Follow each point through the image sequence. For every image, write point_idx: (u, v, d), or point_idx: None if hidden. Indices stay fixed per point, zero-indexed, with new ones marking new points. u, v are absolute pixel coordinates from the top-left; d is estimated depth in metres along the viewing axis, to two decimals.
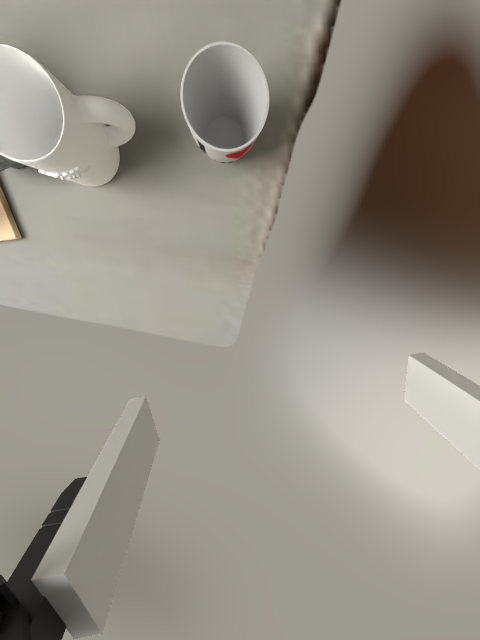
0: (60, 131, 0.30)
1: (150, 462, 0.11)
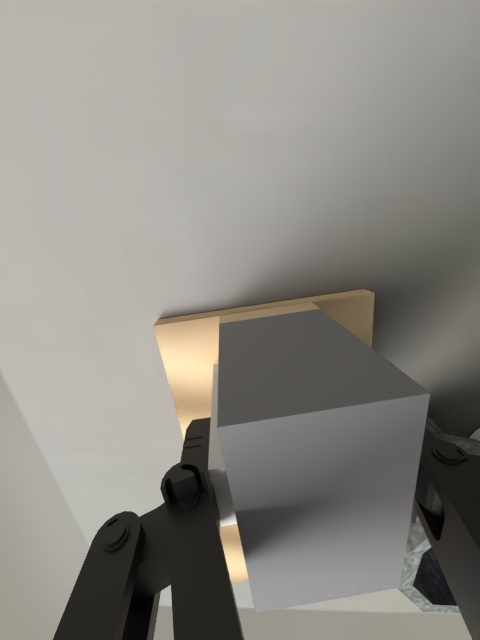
0: None
1: None
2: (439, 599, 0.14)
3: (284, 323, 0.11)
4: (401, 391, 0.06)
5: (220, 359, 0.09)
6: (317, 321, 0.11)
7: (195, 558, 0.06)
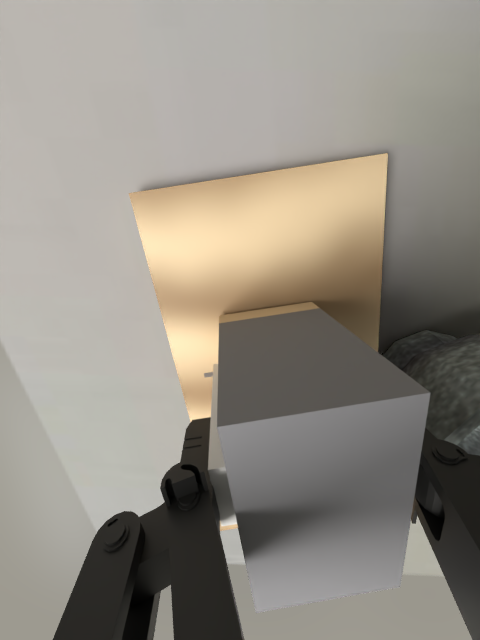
0: None
1: None
2: None
3: (284, 323, 0.11)
4: (401, 390, 0.06)
5: (220, 359, 0.09)
6: (317, 320, 0.11)
7: (195, 558, 0.06)
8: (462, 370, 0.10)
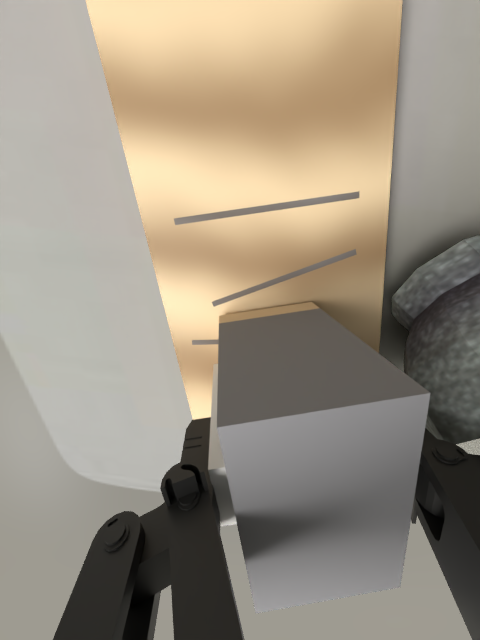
0: None
1: None
2: None
3: (284, 323, 0.11)
4: (401, 391, 0.06)
5: (220, 359, 0.09)
6: (317, 321, 0.11)
7: (195, 558, 0.06)
8: None
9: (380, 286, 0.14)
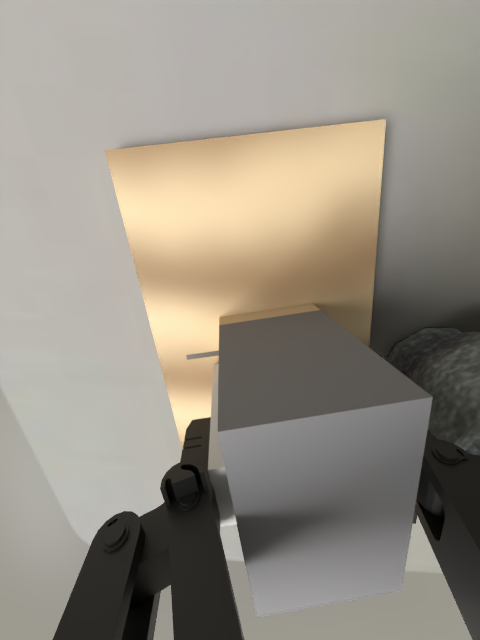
0: None
1: None
2: None
3: (284, 325, 0.11)
4: (403, 395, 0.06)
5: (220, 361, 0.09)
6: (318, 323, 0.11)
7: (195, 558, 0.06)
8: (456, 377, 0.10)
9: None
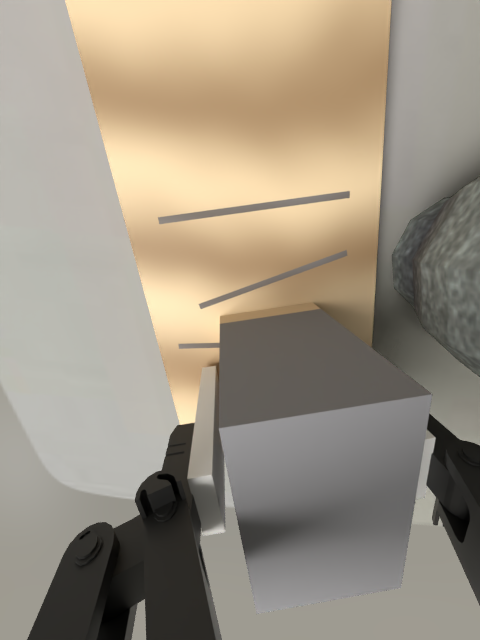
0: None
1: None
2: None
3: (285, 323, 0.11)
4: (403, 392, 0.06)
5: (221, 359, 0.09)
6: (318, 321, 0.11)
7: (171, 571, 0.06)
8: None
9: (371, 288, 0.13)
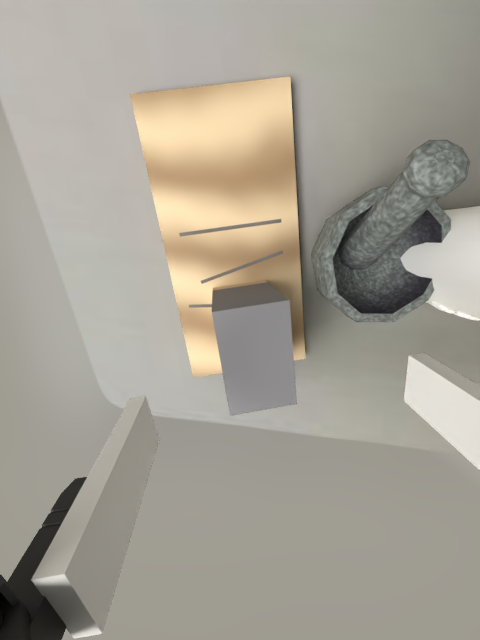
0: None
1: (150, 462, 0.11)
2: (367, 312, 0.19)
3: (246, 288, 0.21)
4: (280, 300, 0.16)
5: (213, 300, 0.18)
6: (263, 286, 0.21)
7: None
8: (334, 216, 0.18)
9: (298, 272, 0.23)
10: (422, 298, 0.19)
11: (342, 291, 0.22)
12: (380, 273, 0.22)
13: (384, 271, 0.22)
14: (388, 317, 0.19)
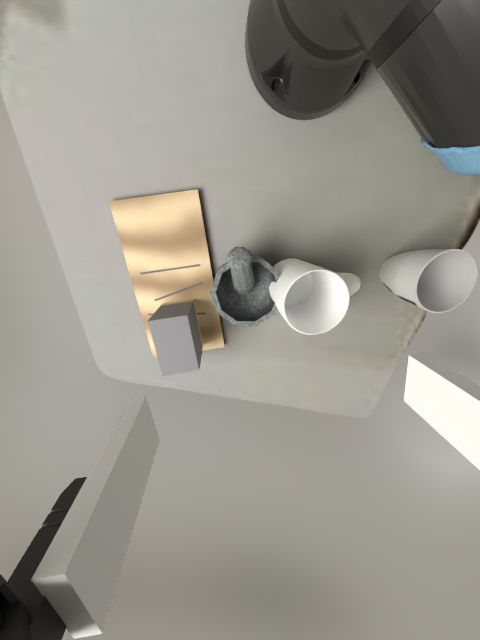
0: None
1: (150, 462, 0.11)
2: (241, 320, 0.34)
3: (178, 305, 0.36)
4: (183, 315, 0.31)
5: (154, 313, 0.34)
6: (187, 304, 0.36)
7: None
8: (218, 268, 0.33)
9: None
10: (271, 312, 0.34)
11: (237, 306, 0.38)
12: (260, 296, 0.38)
13: (262, 295, 0.37)
14: (253, 323, 0.34)
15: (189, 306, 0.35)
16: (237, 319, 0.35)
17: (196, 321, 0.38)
